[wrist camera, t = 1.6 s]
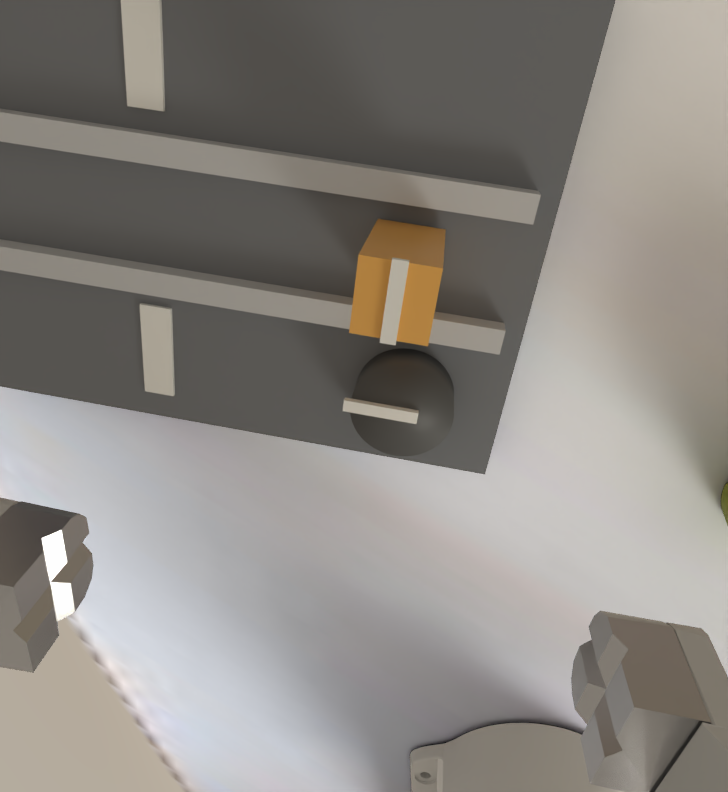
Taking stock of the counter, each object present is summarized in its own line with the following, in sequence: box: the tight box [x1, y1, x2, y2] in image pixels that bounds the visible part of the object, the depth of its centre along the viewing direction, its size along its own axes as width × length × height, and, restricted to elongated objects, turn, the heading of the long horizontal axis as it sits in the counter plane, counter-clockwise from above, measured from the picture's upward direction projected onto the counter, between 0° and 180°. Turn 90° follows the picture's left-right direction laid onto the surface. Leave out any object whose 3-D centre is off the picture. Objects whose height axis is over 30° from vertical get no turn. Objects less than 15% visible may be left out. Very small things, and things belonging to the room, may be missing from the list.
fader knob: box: [349, 219, 446, 346], centre depth 24 cm, size 3×3×6 cm
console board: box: [0, 0, 615, 474], centre depth 28 cm, size 22×28×4 cm
